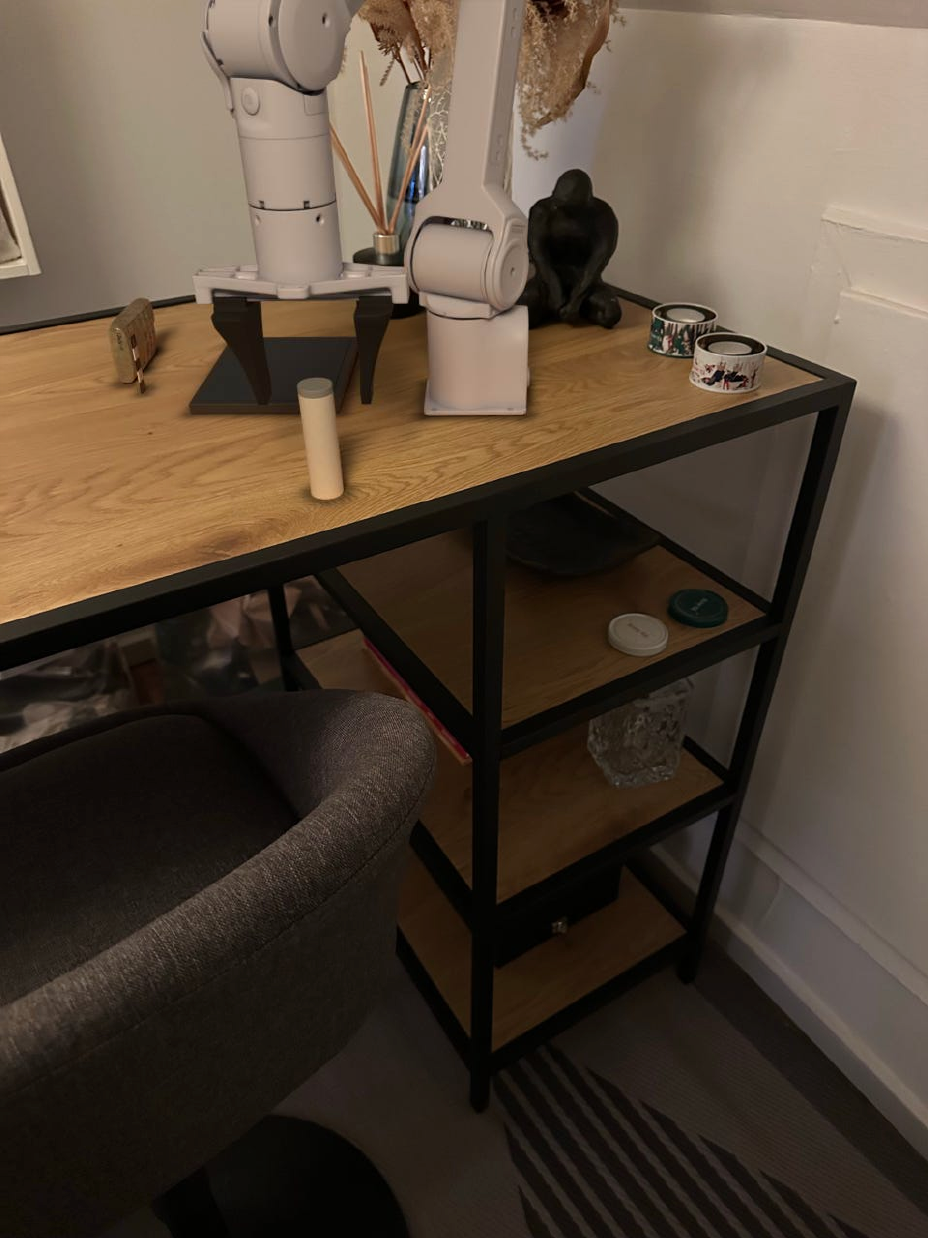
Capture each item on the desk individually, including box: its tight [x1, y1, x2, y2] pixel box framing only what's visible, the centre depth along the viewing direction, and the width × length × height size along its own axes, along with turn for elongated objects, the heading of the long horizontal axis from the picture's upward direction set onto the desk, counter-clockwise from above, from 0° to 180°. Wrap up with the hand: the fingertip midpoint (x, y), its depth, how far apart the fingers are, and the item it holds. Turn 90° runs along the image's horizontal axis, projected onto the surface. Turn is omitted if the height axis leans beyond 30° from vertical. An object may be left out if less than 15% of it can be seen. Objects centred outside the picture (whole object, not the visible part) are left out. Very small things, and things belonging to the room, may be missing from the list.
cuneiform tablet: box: [108, 297, 157, 395], centre depth 89 cm, size 6×4×12 cm
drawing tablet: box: [188, 336, 358, 415], centre depth 88 cm, size 14×18×1 cm
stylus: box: [297, 378, 345, 501], centre depth 67 cm, size 3×3×9 cm
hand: (316, 399), depth 65 cm, fingers open, 7 cm apart
